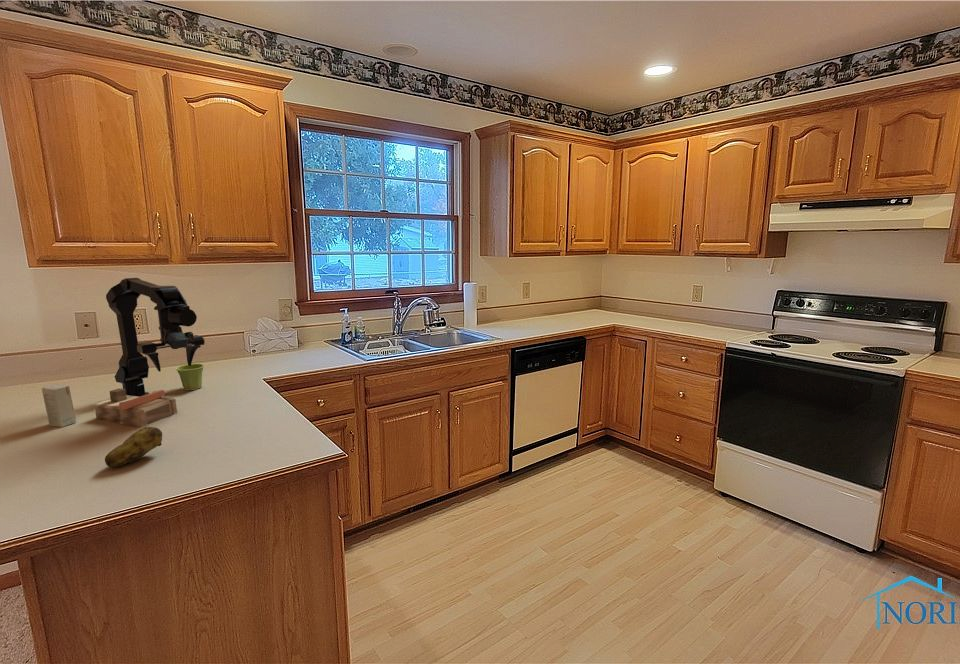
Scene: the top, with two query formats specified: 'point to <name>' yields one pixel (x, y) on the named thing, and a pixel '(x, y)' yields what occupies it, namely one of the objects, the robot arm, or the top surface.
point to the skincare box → (59, 405)
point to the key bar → (142, 399)
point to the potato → (134, 447)
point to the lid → (120, 396)
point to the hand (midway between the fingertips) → (174, 368)
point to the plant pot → (191, 376)
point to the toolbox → (137, 414)
